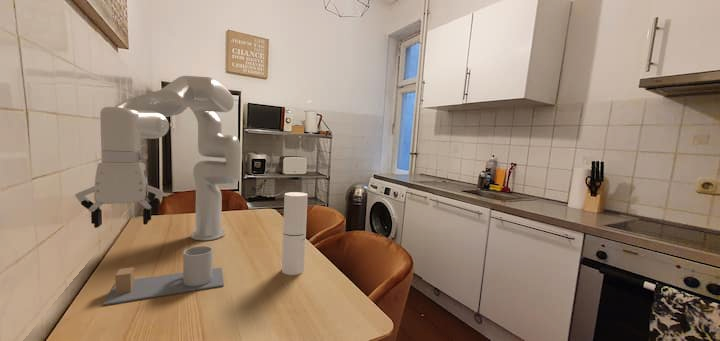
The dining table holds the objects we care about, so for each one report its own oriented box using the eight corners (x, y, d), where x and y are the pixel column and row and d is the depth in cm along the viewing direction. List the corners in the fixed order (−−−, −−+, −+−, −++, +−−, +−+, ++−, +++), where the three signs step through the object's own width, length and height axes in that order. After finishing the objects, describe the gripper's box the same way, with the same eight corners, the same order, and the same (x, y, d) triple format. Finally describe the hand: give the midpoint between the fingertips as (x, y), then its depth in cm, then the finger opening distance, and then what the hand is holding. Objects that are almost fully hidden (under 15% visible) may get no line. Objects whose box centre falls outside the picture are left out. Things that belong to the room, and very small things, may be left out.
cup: (190, 290, 77) (190, 257, 76) (174, 278, 83) (174, 247, 82) (217, 280, 83) (217, 250, 82) (200, 270, 89) (200, 242, 88)
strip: (116, 282, 79) (116, 263, 79) (221, 268, 92) (221, 252, 91) (103, 305, 69) (102, 283, 68) (223, 285, 81) (224, 267, 81)
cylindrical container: (277, 269, 94) (280, 193, 91) (295, 263, 99) (298, 191, 97) (289, 277, 89) (293, 197, 87) (308, 270, 94) (312, 194, 92)
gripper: (164, 157, 80) (165, 218, 81) (80, 155, 71) (83, 223, 73) (161, 159, 73) (161, 226, 75) (68, 158, 65) (71, 232, 66)
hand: (122, 224), depth 74 cm, fingers open, 9 cm apart
